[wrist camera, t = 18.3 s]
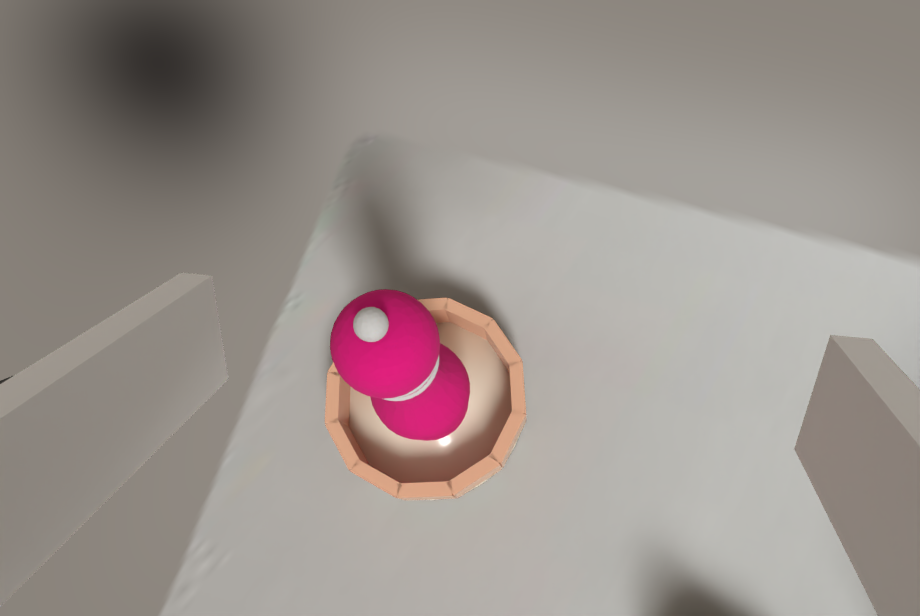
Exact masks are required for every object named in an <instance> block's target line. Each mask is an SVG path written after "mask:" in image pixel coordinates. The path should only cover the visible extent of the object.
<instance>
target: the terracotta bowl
mask: <svg viewBox="0 0 920 616" xmlns="http://www.w3.org/2000/svg"><path fill="white" fill-rule="evenodd" d="M418 301H420V302H421V303H422V304H423V305H424V306H425V307H426V308H427V309H428V311H429V312H430V313H431V315H432V317H433V318H434V320H435V322H436V325H437V327H438V332H439V338H440V343H441V344H443V345H444V346H446V347H448V348H449V349H450V350H451V351H453V352H454V353H455V354H456V355H457V357H458V358H459V359H460V360H461V361H462V363H463V365H464V366H465V368H466V371H467V373H468V377H469V381H470V396H469V402H468V409H467V412H466V415H465V418H464V419H463V421H462V423H461V424H460V425H459V427H458V428H457V429H456V430H455V431H454V432H452V433H451V434H449V435H448V436H446V437H444V438H441V439H438V440H430V441H424V440H413V439H408V438H404V437H402V436H399V435H397V434H395V433H394V432H392V431H391V430H389V429H388V428H387V427H386V426H385V425H384V424H383V423H382V421H381V420H380V418H379V417H378V415H377V414H376V412H375V410H374V408H373V406H372V402H371V398H370V396H367V395H364V394H362V393H360V392H358V391H356V390H354V389H353V388H352V387H351V386H349V385H348V384H347V383H346V382H345V381H344V380H343V379H342V377H341V376H340V374H339V373H338V371H337V369H336V367H335V365H334V362H333V363H332V365H331V367H330V368H329V370H328V372H329V373H327V389H326V410H325V424H326V425H325V426H326V427H327V429H328V431H329V433H330V435H331V437H332V439H333V441H334V443H335V444H336V446H337V448H338V450H339V452H340V454H341V456H342V458H343V460H344V462H345V463H346V465H347V467H348V469H349V470H350V472H352V473H354V474H356V475H357V476H359V477H361V478H363V479H364V480H366V481H368V482H370V483H371V484H373V485H375V486H376V487H378V488H380V489H382V490H383V491H385V492H387V493H389V494H390V495H392V496H394V497H396V498H399V499H402V500H440V499H456V498H459V497H461V496H462V495H464V494H465V493H467V492H469V491H471V490H473V489H475V488H476V487H478V486H480V485H482V484H483V483H484V482H486V481H487V480H488V479H489V478H491V477H492V476H493V475H494V474H496V473H497V472H499V471H500V470H502V468H503V467H504V465H505V463H506V461H507V459H508V458H509V456H510V454H511V453H512V451H513V449H514V448H515V446H516V443H517V441H518V438H519V436H520V433H521V431H522V429H523V427H524V425H525V423H526V406H525V391H524V377H523V362H522V359H521V358H520V356H519V355H518V354H517V352H516V351H515V349H514V348H513V346H512V345H511V343H510V342H509V341H508V339H507V338H506V336H505V335H504V333H503V332H502V330H501V329H500V328H499V326H498V325H497V323H496V322H495V320H494V319H493V318H491V317H489V316H487V315H485V314H482V313H480V312H478V311H476V310H474V309H472V308H470V307H467V306H465V305H463V304H461V303H459V302H457V301H454V300H452V299H450V298H433V299H418ZM501 467H502V468H501Z"/></svg>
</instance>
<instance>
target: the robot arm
mask: <svg viewBox="0 0 920 616" xmlns="http://www.w3.org/2000/svg"><path fill="white" fill-rule="evenodd" d="M219 323H220V322H219V316H218V310H217V303H216V297H215V291H214V284H213V279H212V276H211V275H201V274H191V273H180V274H178V275H177V276H175V277H174V278H172V279H170V280H169V281H167V282H165V283H164V284H162V285H160V286H159V287H157V288H156V289H154V290H152V291H151V292H149V293H147V294H146V295H144V296H143V297H141V298H140V299H138V300H136V301H134V302H133V303H131V304H130V305H128V306H126V307H125V308H123V309H121V310H120V311H118V312H117V313H115V314H114V315H112V316H110V317H108V318H107V319H105V320H104V321H102V322H100V323H99V324H97V325H96V326H94V327H92V328H91V329H89V330H87V331H86V332H84V333H83V334H81V335H79V336H78V337H76V338H74V339H73V340H71V341H70V342H68V343H66V344H65V345H63V346H62V347H60V348H58V349H57V350H55V351H53V352H52V353H50V354H49V355H47V356H45V357H44V358H42V359H40V360H39V361H37V362H35V363H34V364H32V365H31V366H29V367H27V368H26V369H24V370H22V371H21V372H19V373H18V374H16V375H14V376H12V377H9V378H6V379H4V380H1V381H0V607H1V606H2V605H3V603H5V602H6V601H7V600H8V599H9V598H10V597H11V596H12V595H13V594H14V593H15V592H16V591H17V590H18V589H19V588H20V587H21V586H22V585H23V584H24V583H25V582H26V581H27V580H28V579H29V578H30V577H31V576H32V575H33V574H34V573H35V572H36V571H37V570H38V569H39V568H40V567H41V566H42V565H43V564H44V563H45V562H46V561H47V560H48V559H49V558H50V557H51V556H52V555H53V554H54V553H55V552H56V551H57V550H58V549H59V548H60V547H61V546H62V545H63V544H64V543H65V542H66V541H67V540H68V539H69V538H70V537H71V536H72V535H73V534H74V533H75V532H76V531H77V530H78V529H79V528H80V527H81V526H82V525H83V524H84V523H85V522H86V521H87V520H88V519H89V518H90V517H91V516H92V515H93V514H94V513H95V512H96V511H97V510H98V509H99V508H100V507H101V506H102V505H103V504H104V503H105V502H106V501H107V500H108V499H109V498H110V497H111V496H112V495H113V494H114V493H115V492H116V491H117V490H118V489H119V488H120V487H121V486H122V485H123V484H124V483H125V482H126V481H127V480H128V479H129V478H130V477H131V476H132V475H133V474H134V473H135V472H136V471H137V470H138V469H139V468H140V467H141V466H142V465H143V464H144V463H145V462H146V461H147V460H148V459H149V458H150V457H151V456H152V455H153V454H154V453H155V452H156V451H157V450H158V449H159V448H160V447H161V446H162V445H163V444H164V443H165V442H166V441H167V440H168V439H169V438H170V437H171V436H172V435H173V434H174V433H175V432H176V431H177V430H178V429H179V428H180V427H181V426H182V425H183V424H184V423H185V422H186V421H187V420H188V419H189V418H190V417H191V416H192V415H193V414H194V413H195V412H196V411H197V410H198V409H199V408H200V407H201V406H202V405H203V404H204V403H205V402H206V401H207V400H208V399H209V398H210V397H211V396H212V395H213V394H214V393H215V392H216V391H217V390H218V389H219V388H220V387H221V386H222V385H223V384H224V383H225V382H226V381H227V380H228V373H227V367H226V360H225V354H224V348H223V341H222V335H221V329H220V324H219ZM795 451H796V453H797V455H798V457H799V459H800V461H801V463H802V465H803V467H804V469H805V471H806V473H807V475H808V477H809V479H810V481H811V483H812V485H813V487H814V489H815V491H816V493H817V495H818V497H819V499H820V501H821V503H822V505H823V507H824V509H825V511H826V513H827V515H828V517H829V519H830V521H831V523H832V525H833V527H834V529H835V531H836V533H837V535H838V537H839V539H840V541H841V543H842V545H843V547H844V549H845V551H846V553H847V555H848V557H849V559H850V561H851V563H852V565H853V567H854V569H855V571H856V573H857V575H858V577H859V579H860V581H861V583H862V585H863V587H864V589H865V591H866V593H867V595H868V597H869V599H870V601H871V603H872V605H873V607H874V609H875V611H876V613H877V615H878V616H920V389H919V388H918V387H917V386H916V385H915V384H914V383H913V382H912V381H911V380H910V379H909V378H908V377H907V375H906V374H905V373H904V372H903V371H902V370H901V369H900V368H899V367H898V366H897V365H896V364H895V363H894V361H893V360H892V359H891V358H890V357H889V356H888V355H887V354H886V353H885V352H884V351H883V350H882V349H881V347H880V346H879V345H878V344H877V343H876V342H875V341H874V340H873V339H866V338H856V337H845V336H835V335H830V338H829V341H828V344H827V347H826V350H825V354H824V357H823V360H822V363H821V366H820V369H819V373H818V376H817V379H816V382H815V385H814V388H813V392H812V395H811V398H810V401H809V404H808V407H807V411H806V414H805V417H804V420H803V423H802V427H801V430H800V433H799V436H798V439H797V442H796V446H795Z"/></svg>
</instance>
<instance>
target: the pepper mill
mask: <svg viewBox="0 0 920 616" xmlns="http://www.w3.org/2000/svg"><path fill="white" fill-rule="evenodd" d="M330 350H331V356H332V360H333V362H334V365H335V367H336V369H337V371H338V373H339V374H340V376H341V377H342V379H343V380H344V381H345V382H346V383H347V384H348V385H349V386H351V387H352V388H353V389H354V390H356V391H358V392H360V393H362V394H364V395H367V396H370V398H371V402H372V406H373V408H374V410H375V412H376V414H377V415H378V417H379V418H380V420H381V421H382V423H383V424H384V425H385V426H386V427H387V428H388V429H389V430H391V431H392V432H394V433H395V434H397V435H399V436H402V437H404V438H408V439H413V440H424V441H430V440H438V439H441V438H444V437H446V436H448V435H449V434H451V433H452V432H454V431H455V430H456V429H457V428H458V427H459V425H460V424H461V423H462V421H463V419H464V418H465V415H466V412H467V409H468V402H469V396H470V381H469V377H468V373H467V371H466V368H465V366H464V365H463V363H462V361H461V360H460V359H459V358H458V357H457V355H456V354H455V353H454V352H453V351H451V350H450V349H449V348H448V347H446V346H444V345H443V344H441V343H440V338H439V332H438V327H437V325H436V322H435V320H434V318H433V317H432V315H431V313H430V312H429V311H428V309H427V308H426V307H425V306H424V305H423V304H422V303H421V302H420V301H418V300H417V299H415V298H414V297H412V296H410V295H408V294H406V293H403V292H400V291H397V290H387V289H385V290H375V291H371V292H367V293H365V294H363V295H361V296H359V297H357V298H356V299H354V300H353V301H351V302H350V303H349V304H348V305H347V306H346V307H345V308H344V309H343V310H342V311H341V313H340V314H339V316H338V318H337V319H336V321H335V323H334V326H333V329H332V332H331V339H330Z"/></svg>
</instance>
